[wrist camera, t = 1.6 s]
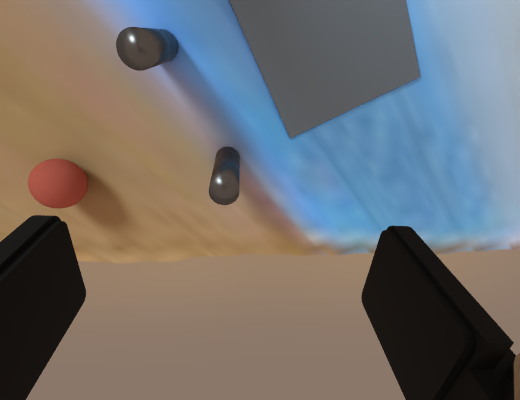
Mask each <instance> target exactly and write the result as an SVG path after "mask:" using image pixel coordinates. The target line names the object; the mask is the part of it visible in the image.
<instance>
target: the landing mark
mask: <svg viewBox="0 0 520 400" xmlns="http://www.w3.org/2000/svg"><path fill="white" fill-rule="evenodd" d="M229 1H230V3H231V5H232V8H233V10H234V12H235V14H236V17H237V19H238V21H239V24H240V26H241V28H242V30H243V33H244V35H245V37H246V39H247V42H248V44H249V46H250V49H251V51H252V53H253V55H254V58H255V60H256V62H257V64H258V67H259V69H260V71H261V74H262V76H263V78H264V80H265V83H266V85H267V87H268V89H269V92H270V94H271V96H272V99H273V101H274V103H275V105H276V108H277V110H278V112H279V114H280V117H281V119H282V121H283V124H284V126H285V128H286V130H287V133H288V135H289V137H290V138H292V137H294V136H296V135H298V134H301V133H303V132H305V131H307V130H309V129H311V128H313V127H315V126H317V125H320V124H322V123H324V122H326V121H328V120H330V119H332V118H334V117H336V116H338V115H341V114H343V113H345V112H347V111H349V110H351V109H353V108H355V107H357V106H360V105H362V104H364V103H366V102H368V101H370V100H372V99H374V98H376V97H379V96H381V95H383V94H385V93H387V92H389V91H391V90H393V89H395V88H397V87H400V86H402V85H404V84H406V83H408V82H410V81H412V80H414V79H416V78H419V77H420V72H419V66H418V61H417V56H416V50H415V45H414V40H413V35H412V29H411V24H410V19H409V13H408V8H407V3H406V0H229Z"/></svg>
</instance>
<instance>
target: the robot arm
mask: <svg viewBox="0 0 520 400" xmlns="http://www.w3.org/2000/svg"><path fill="white" fill-rule="evenodd" d="M85 297H86V289H85V286H84V282H83V279H82V276H81V272H80V269H79V265H78V261H77V258H76V254H75V251H74V248H73V244H72V241H71V237H70V234H69V230H68V227H67V224H66V223H65V222H64V221H61V220H60V218H59V217H57V216H41V215H35V216H31V217H30V218H28V219H27V220H26V221H25V222H24V223H22V224H21V225H20V226H19V227H18V228H16V229H15V230H14V231H13V232H12V233H11V234H9V235H8V236H7V237H6V238H5V239H3V240H2V241H1V242H0V400H26V398H27V396H28V395H29V393H30V391H31V390H32V388H33V386H34V385H35V383H36V381H37V380H38V378H39V376H40V375H41V373H42V371H43V370H44V368H45V366H46V365H47V363H48V361H49V360H50V358H51V356H52V355H53V353H54V351H55V350H56V348H57V346H58V345H59V343H60V341H61V339H62V338H63V336H64V335H65V333H66V331H67V330H68V328H69V326H70V325H71V323H72V321H73V320H74V318H75V316H76V315H77V313H78V311H79V309H80V308H81V306H82V304H83V303H84V300H85ZM362 303H363V306H364V308H365V310H366V313H367V315H368V317H369V319H370V321H371V324H372V326H373V328H374V330H375V332H376V335H377V337H378V339H379V341H380V344H381V346H382V348H383V350H384V353H385V355H386V357H387V359H388V361H389V364H390V366H391V368H392V370H393V372H394V375H395V377H396V379H397V381H398V384H399V386H400V388H401V390H402V392H403V395H404V397H405V399H406V400H520V354H518V355H517V356H516V355H515V354H514V353H513V352H512V351H511V350H510V347H511V346H512V344H513V341H512V340H511V339H510V338H509V337H508V336H507V335H506V334H505V332H504V331H503V330H502V329H501V328H500V327H499V326H498V324H497V323H496V322H495V321H494V320H493V319H492V318H491V317H490V316H489V314H488V313H487V312H486V311H485V310H484V309H483V308H482V307H481V306H480V304H479V303H478V302H477V301H476V300H475V299H474V298H473V296H471V294H470V293H469V292H468V291H467V290H466V289H465V287H464V286H463V285H462V284H461V283H460V282H459V281H458V280H457V279H456V277H455V276H454V275H453V274H452V273H451V272H450V271H449V269H447V267H446V266H445V265H444V264H443V263H442V262H441V260H440V259H439V258H438V257H437V256H436V255H435V254H434V253H433V251H432V250H431V249H430V248H429V247H428V246H427V245H426V244H425V242H424V241H423V240H422V239H421V238H420V237H419V236H418V235H417V233H416V232H415V231H414V230H413V229H412V228H411V227H408V226H389V227H388V228H387V230H384V231H382V233H381V235H380V238H379V241H378V245H377V248H376V251H375V254H374V257H373V260H372V264H371V267H370V270H369V273H368V276H367V279H366V282H365V285H364V288H363V292H362Z"/></svg>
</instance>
